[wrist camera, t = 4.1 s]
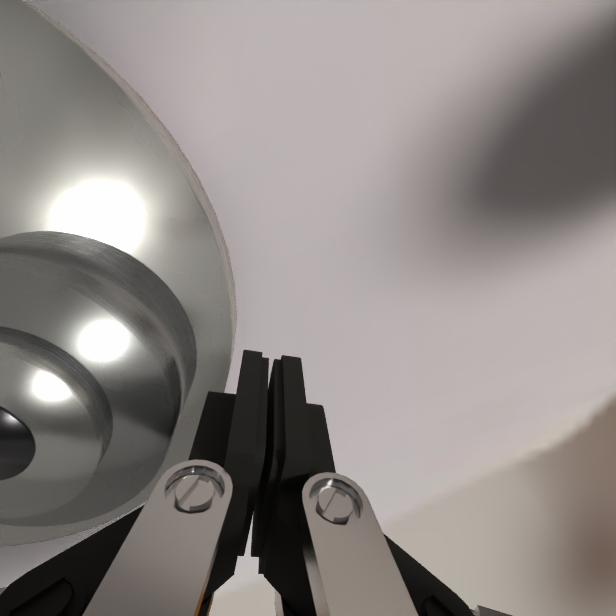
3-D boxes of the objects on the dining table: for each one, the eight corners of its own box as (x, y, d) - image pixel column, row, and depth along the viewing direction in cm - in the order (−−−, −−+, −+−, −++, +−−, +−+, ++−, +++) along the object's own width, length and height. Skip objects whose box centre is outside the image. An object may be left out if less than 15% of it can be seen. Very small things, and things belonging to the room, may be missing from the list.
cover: (-76, 204, 9) (-301, 235, 6) (210, 259, 10) (176, 314, 7) (-44, 429, 12) (-185, 550, 8) (185, 454, 13) (149, 570, 9)
